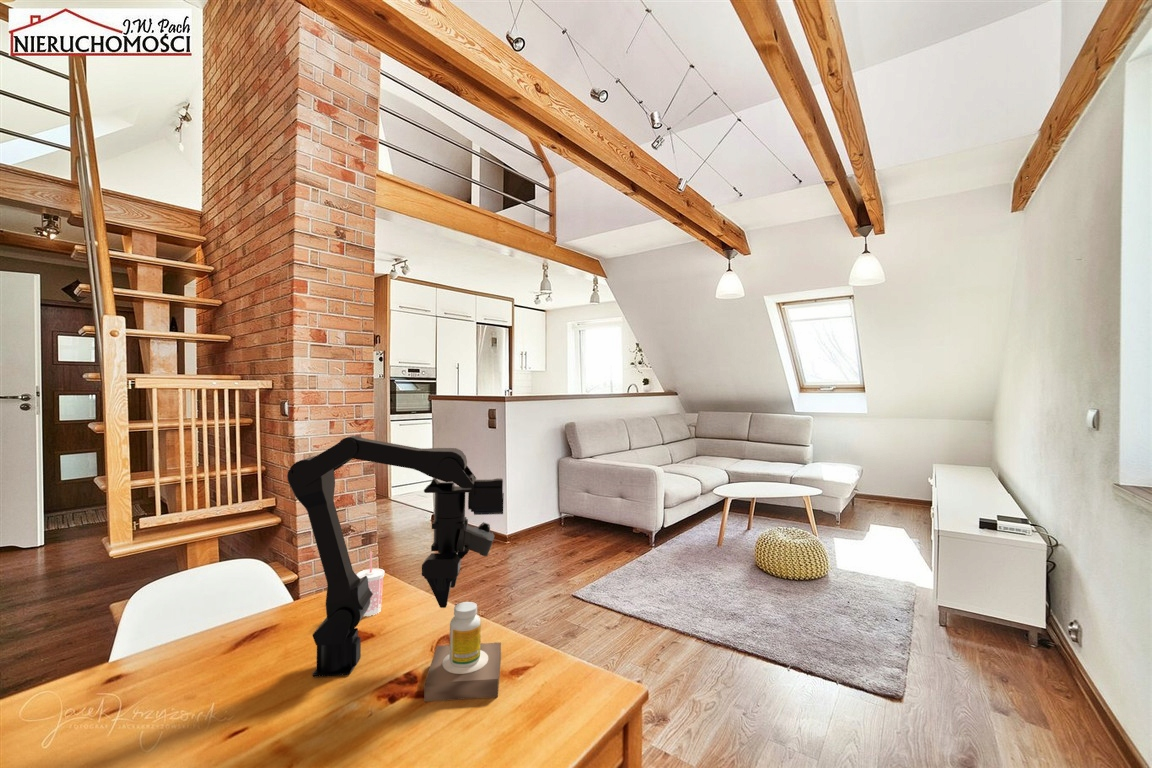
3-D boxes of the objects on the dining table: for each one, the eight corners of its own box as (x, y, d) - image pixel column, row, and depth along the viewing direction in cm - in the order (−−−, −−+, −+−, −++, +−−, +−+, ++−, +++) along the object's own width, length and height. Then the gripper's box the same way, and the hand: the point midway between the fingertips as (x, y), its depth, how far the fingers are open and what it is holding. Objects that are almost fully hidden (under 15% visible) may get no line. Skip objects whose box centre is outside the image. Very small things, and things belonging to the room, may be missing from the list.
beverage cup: (370, 604, 117) (371, 545, 117) (390, 609, 115) (390, 549, 115) (349, 615, 112) (350, 553, 112) (369, 620, 109) (370, 557, 109)
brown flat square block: (424, 701, 80) (424, 682, 80) (436, 661, 92) (437, 644, 92) (497, 696, 82) (497, 677, 82) (500, 658, 94) (501, 641, 94)
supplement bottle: (444, 659, 87) (444, 605, 88) (471, 649, 91) (471, 597, 91) (458, 672, 83) (458, 615, 83) (485, 661, 87) (486, 607, 87)
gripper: (487, 528, 85) (485, 618, 85) (496, 504, 104) (494, 578, 103) (421, 528, 84) (419, 619, 84) (442, 504, 103) (441, 578, 102)
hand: (447, 596), depth 93 cm, fingers open, 9 cm apart
